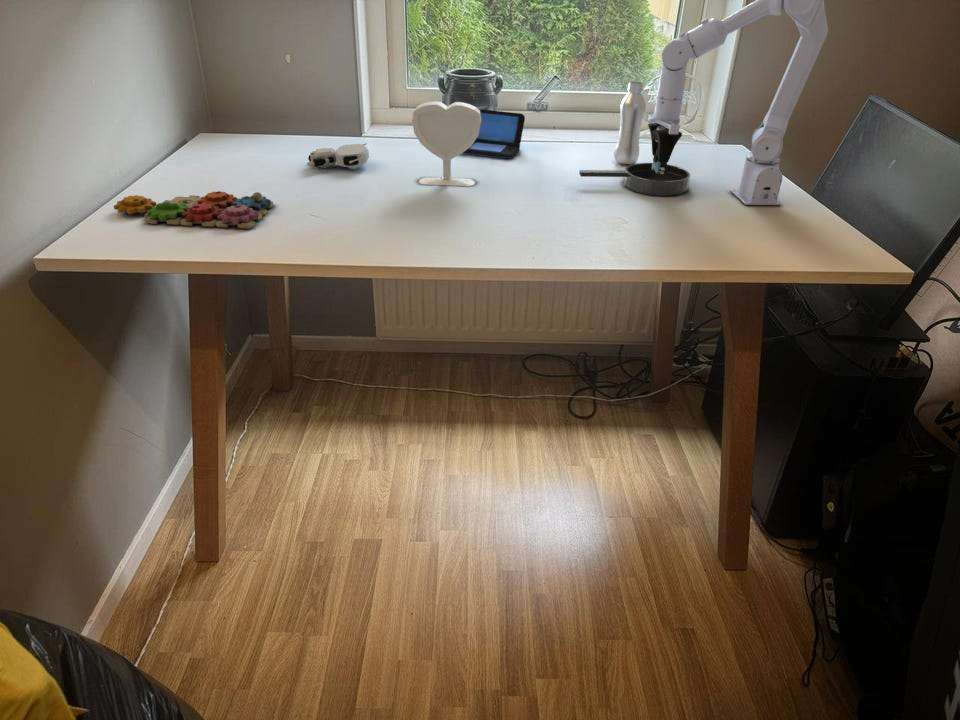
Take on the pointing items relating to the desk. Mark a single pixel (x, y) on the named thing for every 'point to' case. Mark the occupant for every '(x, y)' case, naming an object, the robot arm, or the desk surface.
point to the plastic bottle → (630, 124)
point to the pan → (656, 180)
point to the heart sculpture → (446, 134)
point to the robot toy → (340, 156)
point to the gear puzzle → (200, 209)
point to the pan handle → (603, 173)
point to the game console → (498, 134)
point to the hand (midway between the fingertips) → (660, 158)
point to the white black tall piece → (657, 165)
